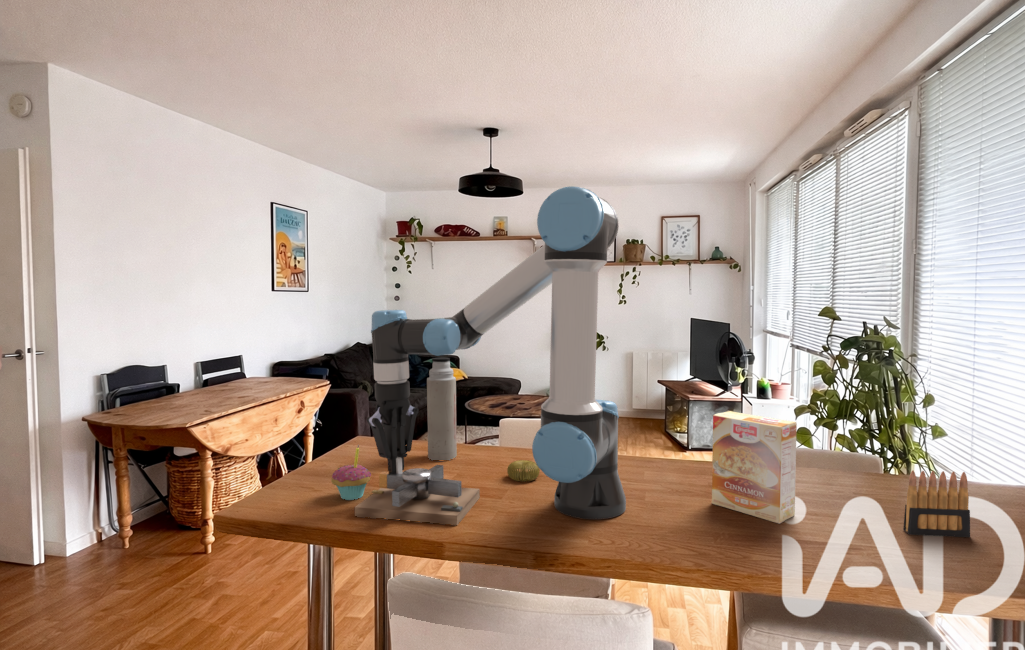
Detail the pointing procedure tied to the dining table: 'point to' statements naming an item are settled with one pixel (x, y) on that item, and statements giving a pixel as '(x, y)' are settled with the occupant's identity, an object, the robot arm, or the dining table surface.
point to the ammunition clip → (937, 506)
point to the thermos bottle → (441, 411)
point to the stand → (419, 507)
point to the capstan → (418, 484)
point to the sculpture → (523, 470)
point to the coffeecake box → (754, 465)
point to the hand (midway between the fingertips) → (397, 486)
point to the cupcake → (351, 479)
